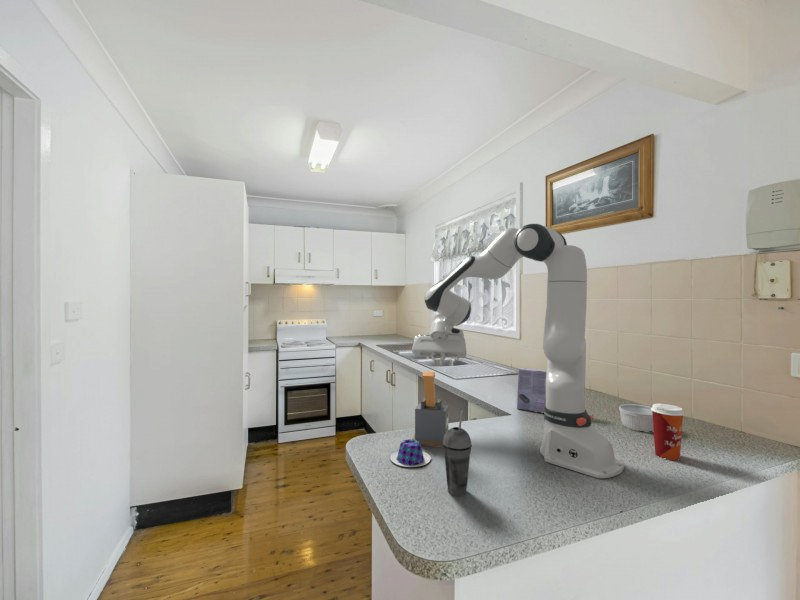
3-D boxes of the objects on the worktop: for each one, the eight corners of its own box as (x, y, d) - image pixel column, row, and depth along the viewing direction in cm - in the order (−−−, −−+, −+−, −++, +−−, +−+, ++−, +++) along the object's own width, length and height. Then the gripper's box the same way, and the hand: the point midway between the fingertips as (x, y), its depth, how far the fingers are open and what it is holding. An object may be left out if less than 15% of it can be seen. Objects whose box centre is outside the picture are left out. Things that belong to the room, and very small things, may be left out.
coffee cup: (675, 464, 104) (675, 412, 104) (645, 453, 111) (645, 405, 111) (690, 458, 108) (690, 408, 108) (660, 448, 115) (660, 401, 115)
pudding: (437, 457, 109) (438, 440, 109) (417, 473, 99) (417, 454, 99) (404, 448, 115) (404, 432, 115) (382, 462, 105) (382, 444, 105)
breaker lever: (426, 404, 121) (423, 371, 116) (437, 405, 120) (434, 371, 115) (425, 409, 119) (422, 375, 114) (436, 409, 118) (433, 376, 113)
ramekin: (622, 431, 131) (622, 411, 131) (616, 419, 143) (616, 402, 143) (666, 436, 126) (666, 416, 126) (656, 424, 138) (656, 406, 138)
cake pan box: (566, 414, 150) (566, 371, 150) (564, 417, 146) (564, 373, 146) (519, 406, 160) (519, 367, 160) (516, 409, 156) (516, 368, 156)
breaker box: (417, 435, 126) (417, 395, 126) (451, 438, 123) (451, 397, 123) (411, 443, 118) (411, 401, 118) (448, 447, 115) (448, 404, 115)
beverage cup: (439, 484, 92) (439, 406, 92) (467, 483, 93) (467, 405, 93) (445, 499, 85) (445, 415, 85) (475, 498, 86) (475, 414, 86)
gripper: (413, 329, 140) (407, 358, 130) (466, 330, 134) (464, 360, 125) (416, 339, 144) (410, 368, 135) (468, 341, 139) (465, 371, 129)
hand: (437, 364), depth 130 cm, fingers closed
